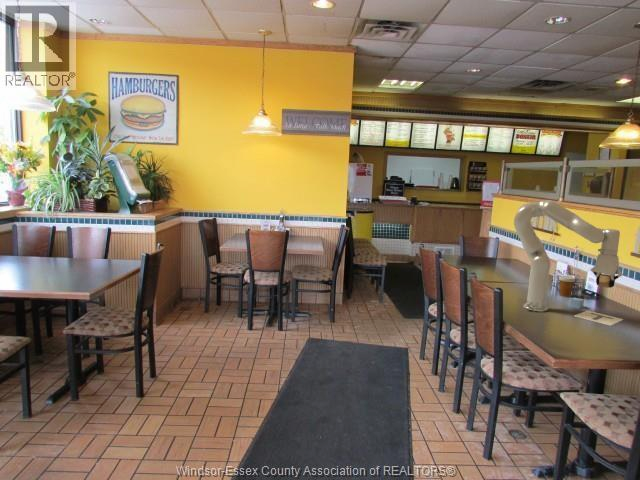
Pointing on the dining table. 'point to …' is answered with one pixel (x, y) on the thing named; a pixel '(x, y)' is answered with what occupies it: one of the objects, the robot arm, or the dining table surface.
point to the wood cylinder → (604, 280)
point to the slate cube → (577, 302)
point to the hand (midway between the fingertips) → (604, 285)
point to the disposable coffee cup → (566, 285)
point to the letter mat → (598, 317)
